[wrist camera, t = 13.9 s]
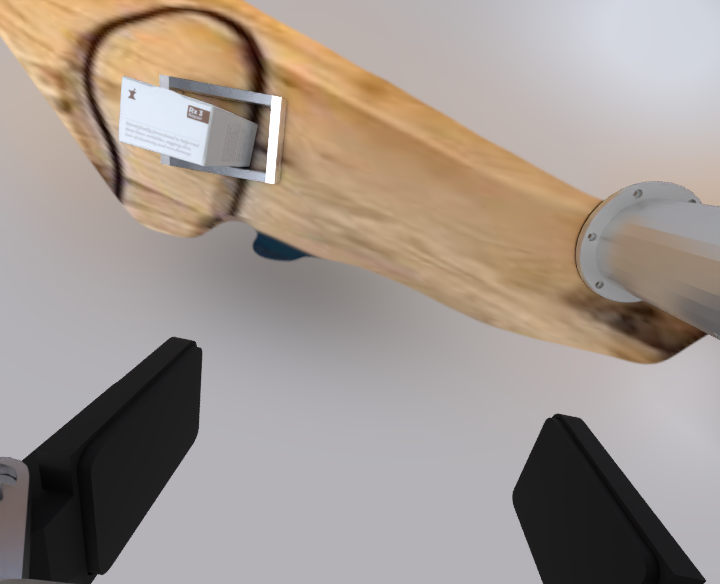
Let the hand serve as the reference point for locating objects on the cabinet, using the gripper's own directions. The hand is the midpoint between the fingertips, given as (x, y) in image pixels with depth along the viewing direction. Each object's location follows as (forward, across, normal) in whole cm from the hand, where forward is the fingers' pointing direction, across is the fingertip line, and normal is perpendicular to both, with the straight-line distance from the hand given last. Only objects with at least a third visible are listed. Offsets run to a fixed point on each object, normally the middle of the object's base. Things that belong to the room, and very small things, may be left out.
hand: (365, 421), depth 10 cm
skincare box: (+30, +16, -6) cm, 35 cm away
